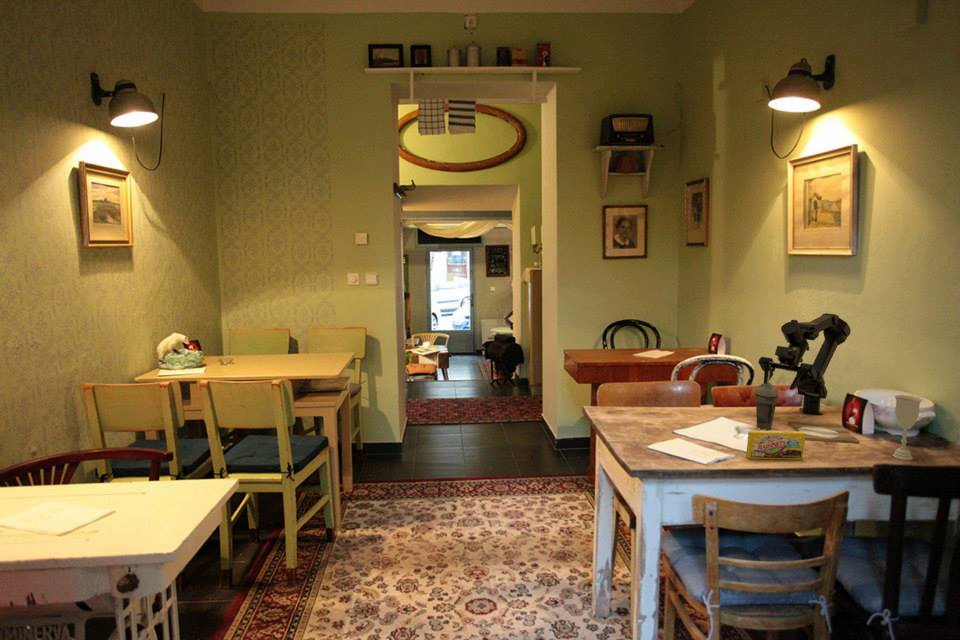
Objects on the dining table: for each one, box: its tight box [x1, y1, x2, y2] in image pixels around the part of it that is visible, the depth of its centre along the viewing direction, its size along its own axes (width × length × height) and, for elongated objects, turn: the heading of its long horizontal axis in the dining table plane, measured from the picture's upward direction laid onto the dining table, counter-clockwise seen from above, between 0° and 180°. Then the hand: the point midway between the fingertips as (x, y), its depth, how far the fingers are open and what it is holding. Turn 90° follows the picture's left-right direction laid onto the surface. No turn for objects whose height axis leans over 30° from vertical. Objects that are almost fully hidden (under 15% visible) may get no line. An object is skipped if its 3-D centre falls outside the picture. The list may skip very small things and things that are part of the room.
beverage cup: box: [754, 371, 779, 431], centre depth 221 cm, size 7×7×20 cm
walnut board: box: [788, 420, 860, 444], centre depth 218 cm, size 20×16×1 cm
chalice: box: [892, 394, 923, 461], centre depth 193 cm, size 7×7×18 cm
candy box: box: [745, 430, 806, 460], centre depth 191 cm, size 16×2×8 cm, turn 90°
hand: (777, 386), depth 225 cm, fingers open, 9 cm apart
